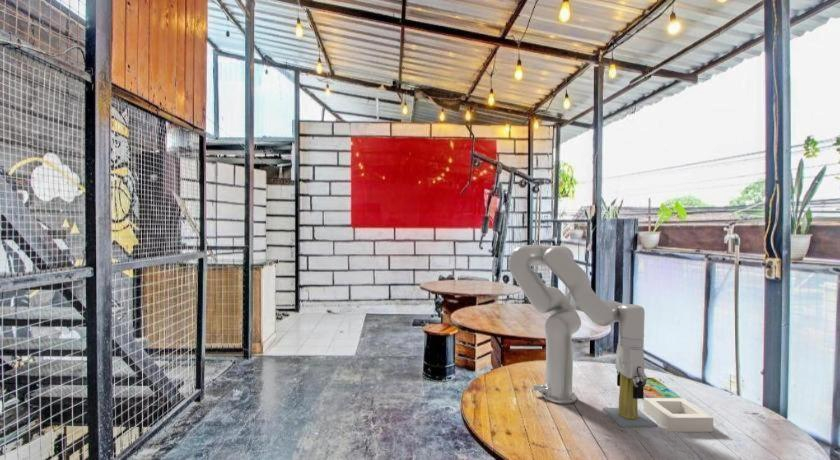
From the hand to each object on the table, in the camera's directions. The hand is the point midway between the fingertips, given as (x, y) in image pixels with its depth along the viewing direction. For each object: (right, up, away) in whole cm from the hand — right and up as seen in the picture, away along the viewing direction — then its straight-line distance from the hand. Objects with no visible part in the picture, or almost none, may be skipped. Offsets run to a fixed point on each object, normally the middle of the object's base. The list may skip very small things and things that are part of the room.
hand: (629, 391), depth 134 cm
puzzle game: (+17, -9, +17) cm, 26 cm away
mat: (0, -9, 0) cm, 9 cm away
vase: (0, -8, +1) cm, 8 cm away
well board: (+15, -9, -1) cm, 18 cm away
